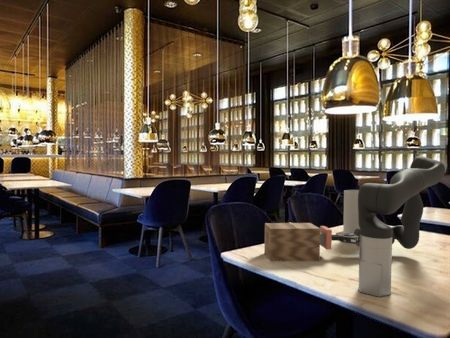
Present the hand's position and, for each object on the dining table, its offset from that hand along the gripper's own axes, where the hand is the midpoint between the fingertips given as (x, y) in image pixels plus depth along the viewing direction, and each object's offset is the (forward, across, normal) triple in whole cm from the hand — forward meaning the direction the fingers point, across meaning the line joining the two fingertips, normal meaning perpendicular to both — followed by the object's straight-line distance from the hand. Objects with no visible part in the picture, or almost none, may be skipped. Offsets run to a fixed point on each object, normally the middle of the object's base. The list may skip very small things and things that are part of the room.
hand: (328, 237), depth 144 cm
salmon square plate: (+10, 0, +4) cm, 11 cm away
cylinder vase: (-25, -26, +8) cm, 37 cm away
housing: (+16, 0, +8) cm, 17 cm away
